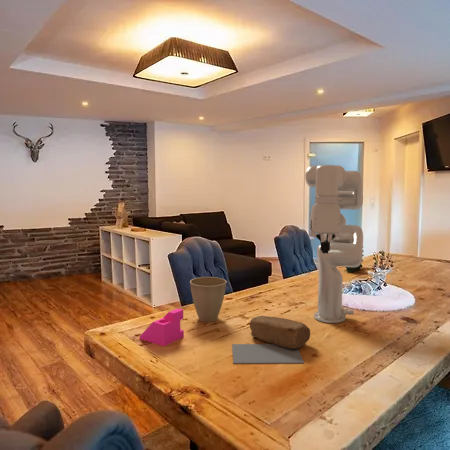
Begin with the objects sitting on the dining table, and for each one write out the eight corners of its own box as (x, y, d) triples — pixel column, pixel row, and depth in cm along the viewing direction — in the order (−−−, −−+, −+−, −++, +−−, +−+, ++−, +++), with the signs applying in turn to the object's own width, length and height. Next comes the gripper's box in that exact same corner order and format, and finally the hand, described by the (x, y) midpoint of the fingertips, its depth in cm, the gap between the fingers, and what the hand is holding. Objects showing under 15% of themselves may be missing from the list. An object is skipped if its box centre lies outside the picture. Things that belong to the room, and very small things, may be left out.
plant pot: (197, 327, 150) (197, 287, 148) (185, 315, 164) (185, 278, 162) (232, 322, 156) (232, 283, 154) (218, 311, 170) (218, 275, 168)
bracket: (183, 336, 142) (183, 309, 141) (164, 346, 133) (163, 317, 132) (159, 330, 148) (159, 303, 147) (139, 338, 140) (138, 311, 139)
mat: (295, 344, 134) (295, 343, 134) (304, 363, 120) (304, 362, 120) (232, 345, 134) (232, 344, 134) (233, 363, 120) (233, 362, 120)
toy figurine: (352, 269, 259) (338, 272, 239) (353, 240, 258) (340, 242, 238) (366, 270, 253) (353, 274, 233) (368, 242, 253) (355, 243, 233)
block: (294, 329, 126) (247, 318, 140) (294, 352, 126) (247, 338, 140) (312, 321, 134) (266, 311, 148) (312, 343, 134) (266, 330, 148)
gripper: (344, 200, 139) (342, 251, 141) (302, 200, 139) (301, 251, 141) (351, 201, 131) (349, 254, 133) (307, 201, 131) (306, 255, 133)
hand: (324, 252), depth 137 cm, fingers closed
